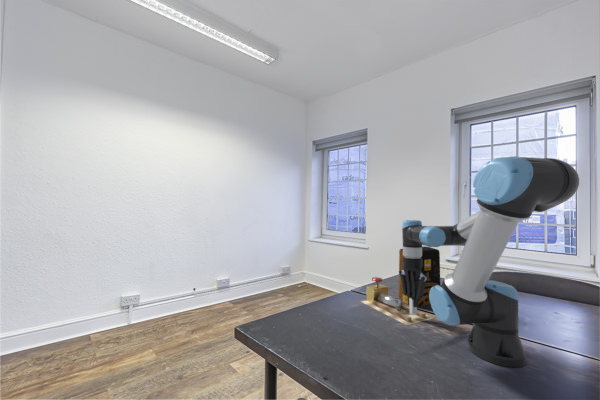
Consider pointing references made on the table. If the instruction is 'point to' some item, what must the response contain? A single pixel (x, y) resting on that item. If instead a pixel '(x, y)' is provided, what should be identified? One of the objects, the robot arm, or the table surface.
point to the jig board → (413, 319)
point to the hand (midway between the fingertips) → (413, 314)
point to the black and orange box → (428, 268)
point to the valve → (376, 290)
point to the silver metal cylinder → (390, 301)
